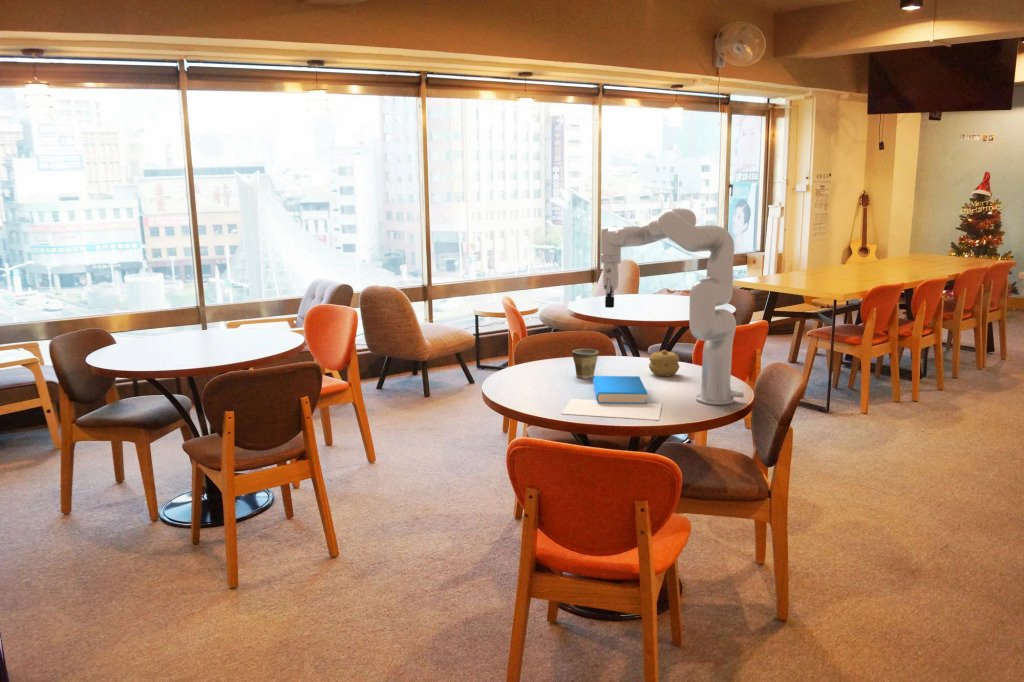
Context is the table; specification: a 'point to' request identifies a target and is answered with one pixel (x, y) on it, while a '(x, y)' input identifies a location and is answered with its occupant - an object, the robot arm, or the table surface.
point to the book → (619, 390)
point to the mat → (613, 409)
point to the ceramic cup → (585, 362)
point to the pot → (664, 363)
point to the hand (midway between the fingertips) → (609, 307)
